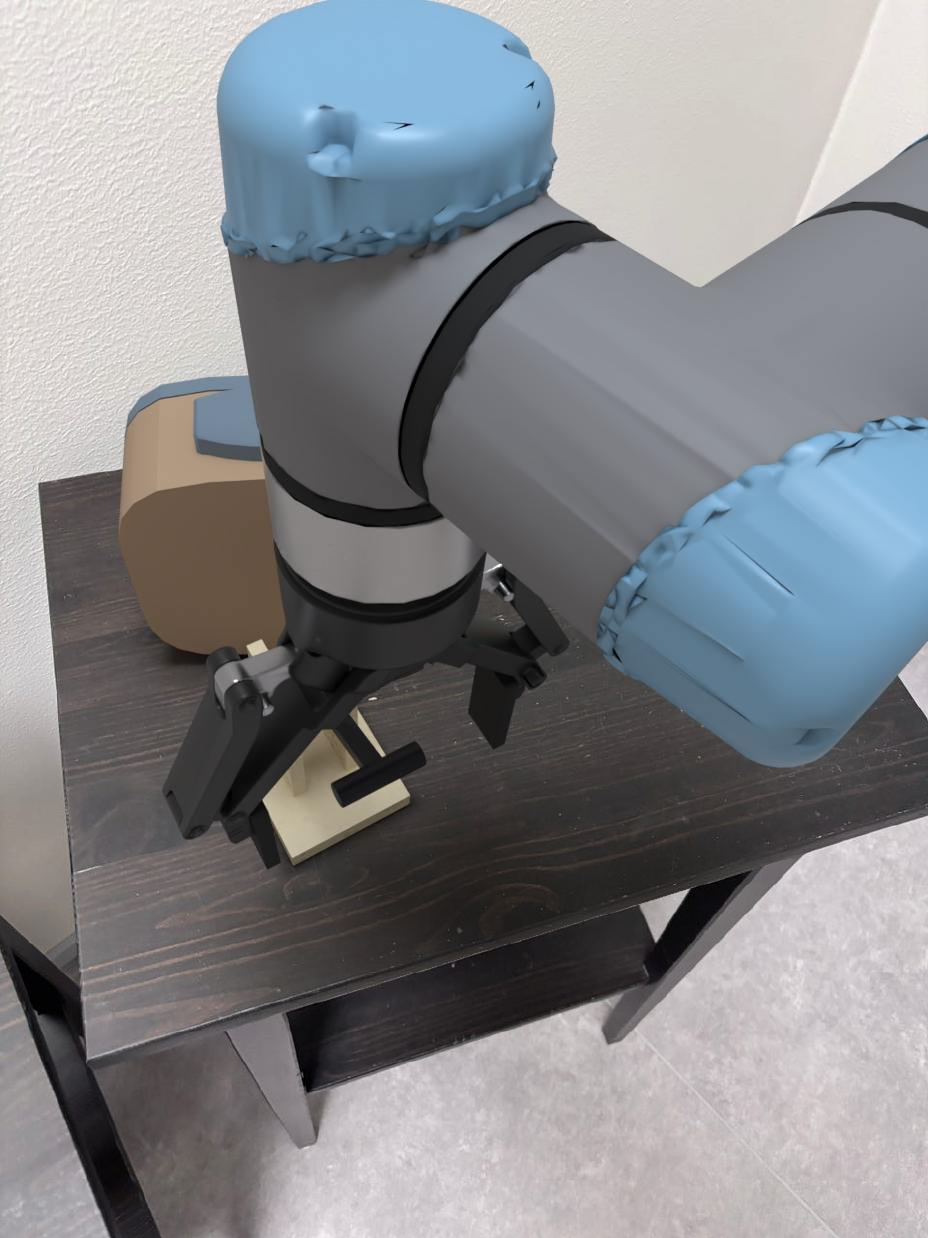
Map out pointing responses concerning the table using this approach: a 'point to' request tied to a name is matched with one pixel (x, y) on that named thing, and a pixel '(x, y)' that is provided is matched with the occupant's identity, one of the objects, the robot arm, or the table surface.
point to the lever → (371, 764)
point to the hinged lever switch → (324, 794)
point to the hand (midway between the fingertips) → (379, 783)
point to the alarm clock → (200, 517)
